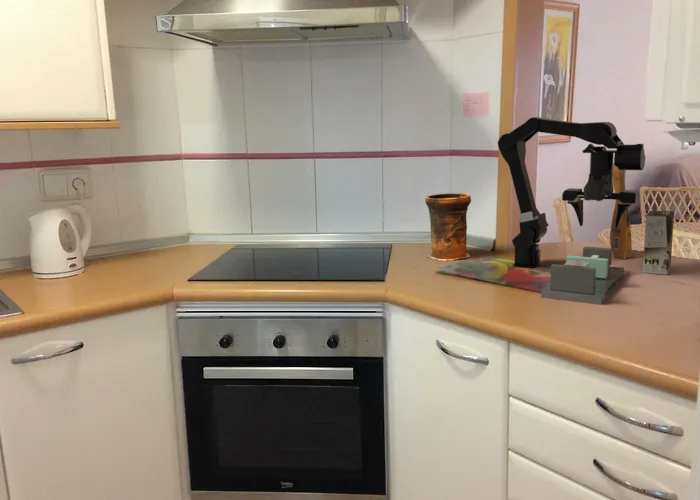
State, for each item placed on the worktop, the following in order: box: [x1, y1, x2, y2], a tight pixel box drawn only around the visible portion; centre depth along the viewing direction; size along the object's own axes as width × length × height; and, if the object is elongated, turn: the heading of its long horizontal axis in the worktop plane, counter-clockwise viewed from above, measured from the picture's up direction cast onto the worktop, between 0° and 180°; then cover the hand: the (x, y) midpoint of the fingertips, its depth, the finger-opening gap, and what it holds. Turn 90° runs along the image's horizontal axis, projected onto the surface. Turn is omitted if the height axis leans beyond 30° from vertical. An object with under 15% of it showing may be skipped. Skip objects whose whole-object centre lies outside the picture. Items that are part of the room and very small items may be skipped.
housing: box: [563, 260, 590, 268], centre depth 150 cm, size 5×5×6 cm
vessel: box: [424, 192, 472, 262], centre depth 194 cm, size 14×14×20 cm
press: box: [540, 263, 625, 305], centre depth 157 cm, size 14×29×8 cm, turn 147°
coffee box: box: [642, 210, 675, 276], centre depth 167 cm, size 9×6×16 cm
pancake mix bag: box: [609, 162, 633, 260], centre depth 187 cm, size 7×19×28 cm, turn 162°
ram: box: [565, 246, 613, 278], centre depth 163 cm, size 10×14×5 cm
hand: (598, 226), depth 166 cm, fingers open, 9 cm apart
